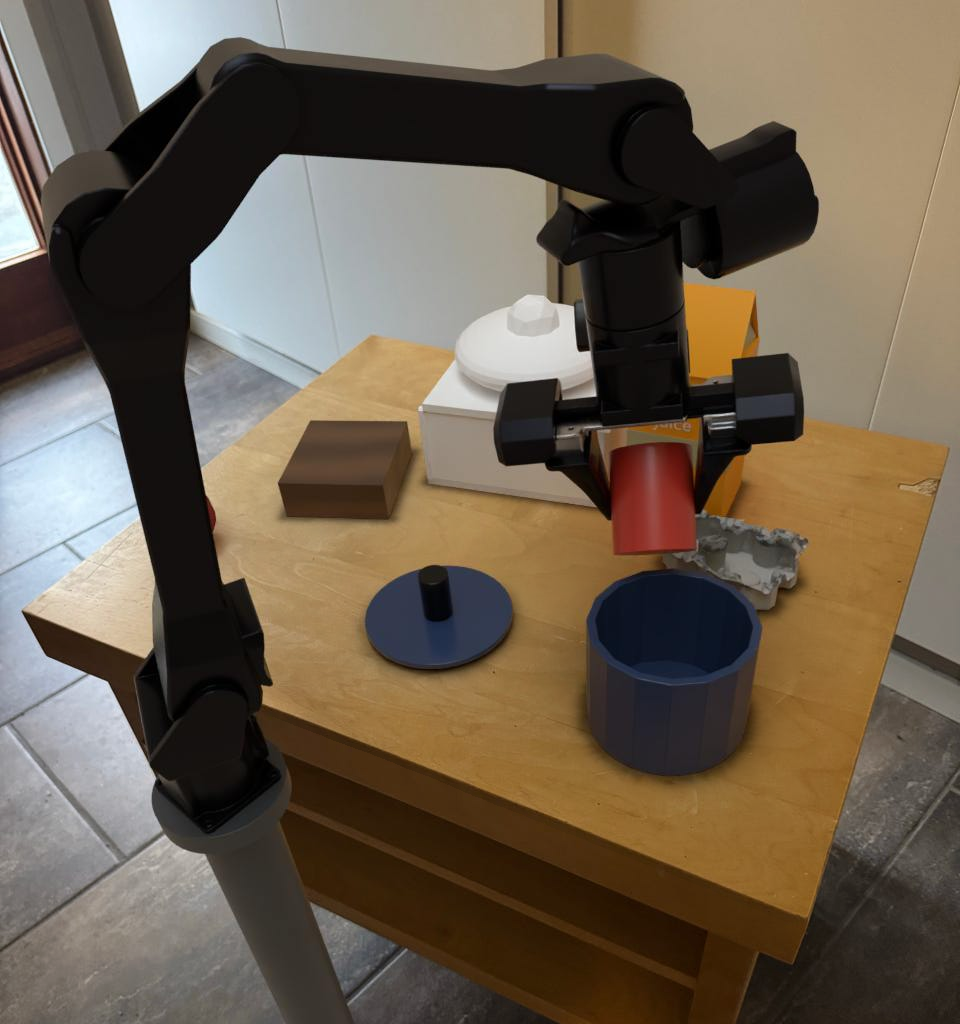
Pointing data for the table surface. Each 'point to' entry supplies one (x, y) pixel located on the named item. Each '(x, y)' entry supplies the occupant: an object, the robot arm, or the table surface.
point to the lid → (438, 617)
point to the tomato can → (652, 499)
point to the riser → (346, 469)
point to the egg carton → (743, 557)
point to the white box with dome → (475, 395)
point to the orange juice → (711, 371)
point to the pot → (670, 670)
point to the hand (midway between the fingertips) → (654, 513)
